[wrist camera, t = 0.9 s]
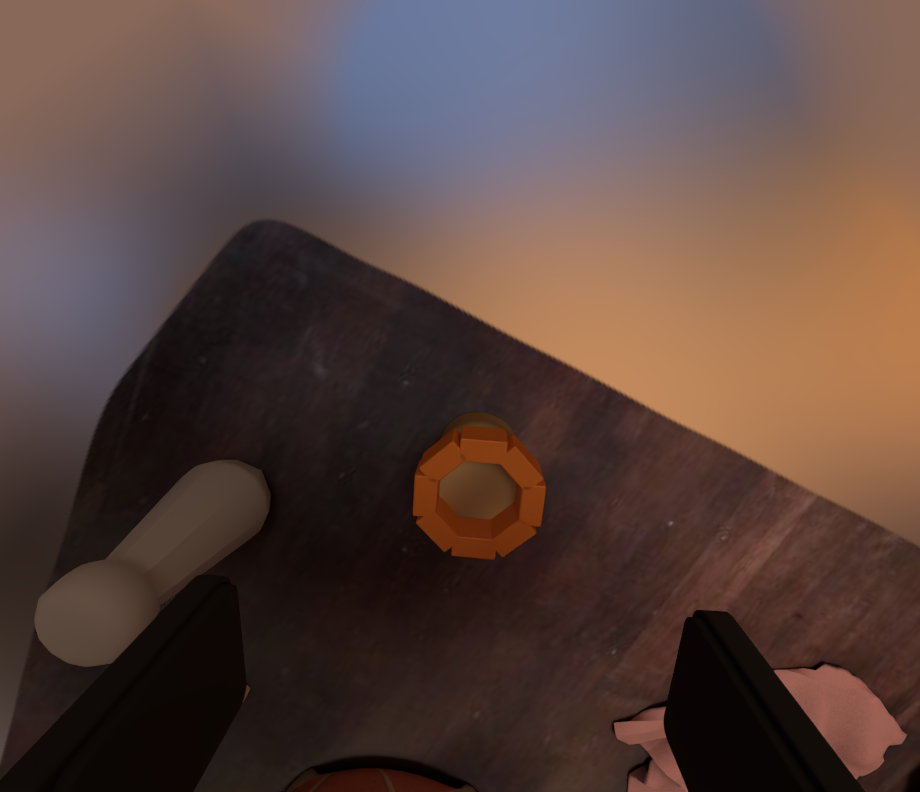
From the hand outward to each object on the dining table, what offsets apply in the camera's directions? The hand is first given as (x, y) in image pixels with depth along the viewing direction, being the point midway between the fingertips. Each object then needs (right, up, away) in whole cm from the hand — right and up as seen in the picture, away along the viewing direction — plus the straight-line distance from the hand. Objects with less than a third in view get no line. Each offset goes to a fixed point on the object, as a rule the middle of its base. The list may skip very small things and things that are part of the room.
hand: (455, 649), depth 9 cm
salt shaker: (-15, -1, +21) cm, 26 cm away
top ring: (+1, 0, +15) cm, 15 cm away
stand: (+1, +2, +20) cm, 20 cm away
